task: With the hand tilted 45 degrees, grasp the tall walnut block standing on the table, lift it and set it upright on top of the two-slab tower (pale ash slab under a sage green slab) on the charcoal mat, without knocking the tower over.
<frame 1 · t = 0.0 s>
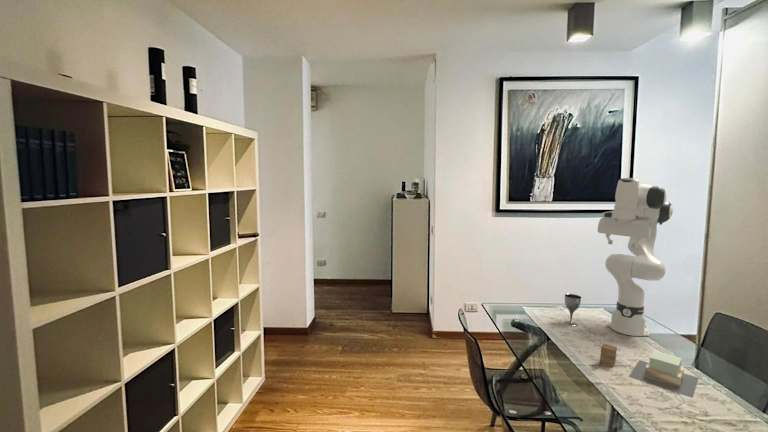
hand: (621, 245, 176), 48 cm above the table, fingers open, 8 cm apart
tower top: (664, 367, 155), point 5 cm above the table, touching tower base
wine glass: (570, 323, 211), on the table
tower base: (663, 377, 155), point 1 cm above the table, touching mat, tower top
mat: (663, 379, 155), on the table
walnut block: (607, 364, 166), on the table
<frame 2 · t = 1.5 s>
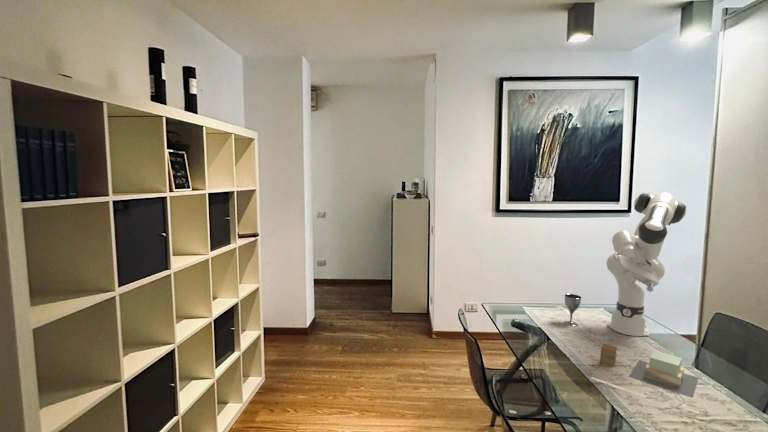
hand: (641, 286, 160), 35 cm above the table, fingers open, 8 cm apart
nothing on the table moved.
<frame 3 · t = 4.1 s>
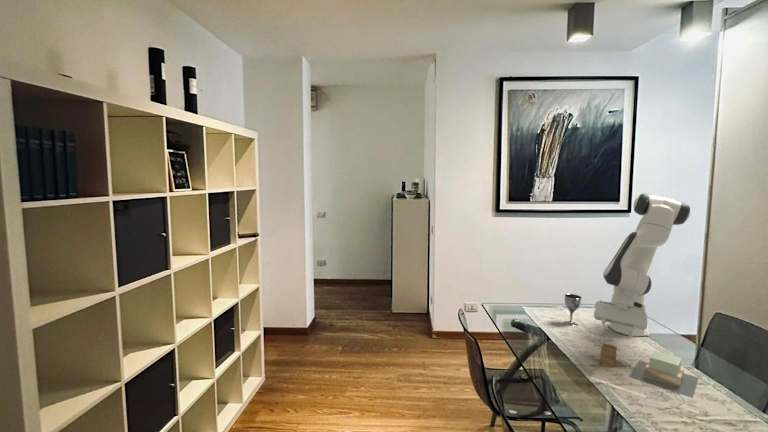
hand: (617, 332, 170), 12 cm above the table, fingers open, 8 cm apart
nothing on the table moved.
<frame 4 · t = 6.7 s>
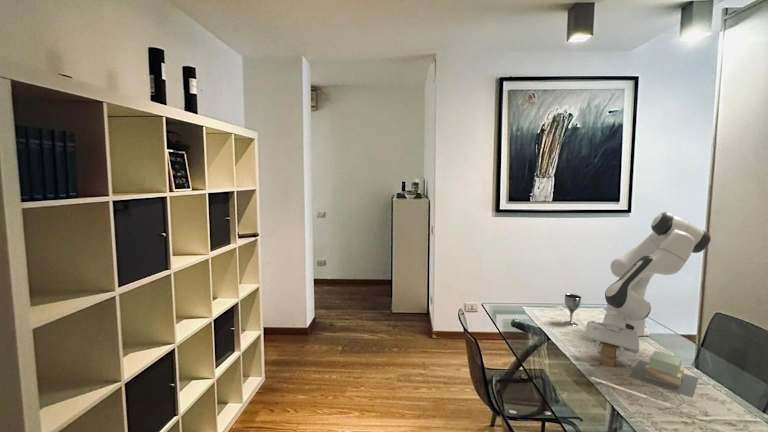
hand: (608, 355, 165), 4 cm above the table, fingers closed on walnut block, 5 cm apart
walnut block: (607, 364, 166), on the table, touching gripper
everything else where it was.
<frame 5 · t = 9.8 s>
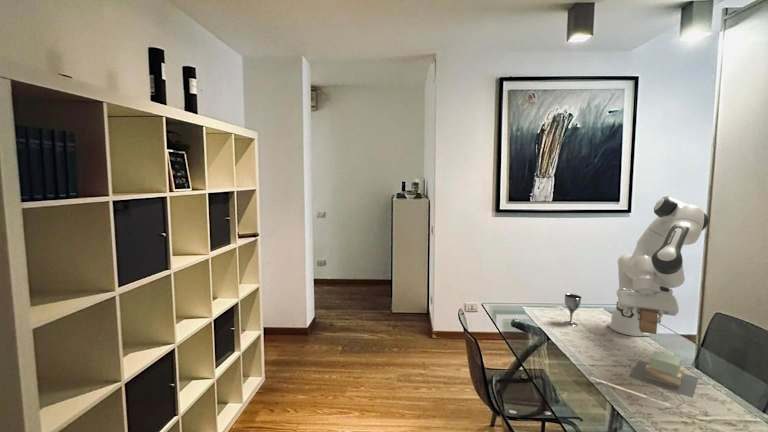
hand: (648, 320, 154), 23 cm above the table, fingers closed on walnut block, 5 cm apart
walnut block: (647, 331, 155), point 18 cm above the table, touching gripper
everything else where it was.
when the fingers open (15 cm above the table, at t = 12.7 s): walnut block drops 2 cm, resting on tower top.
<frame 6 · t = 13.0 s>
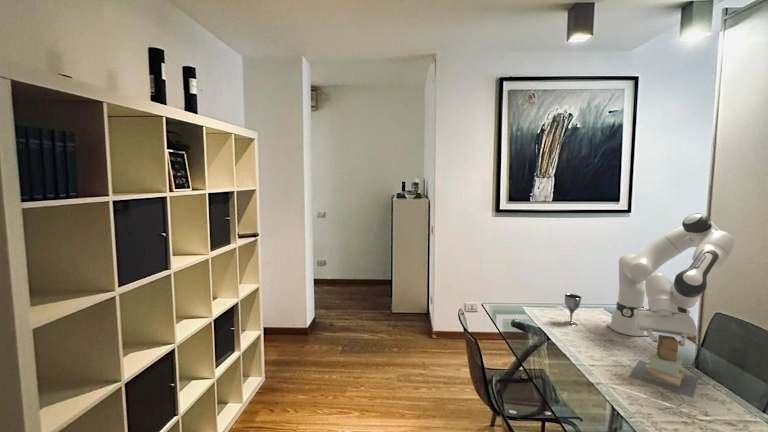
hand: (668, 343, 153), 15 cm above the table, fingers open, 8 cm apart
tower top: (664, 367, 155), point 5 cm above the table, touching tower base, walnut block
walnut block: (666, 357, 154), point 9 cm above the table, touching tower top
everything else where it was.
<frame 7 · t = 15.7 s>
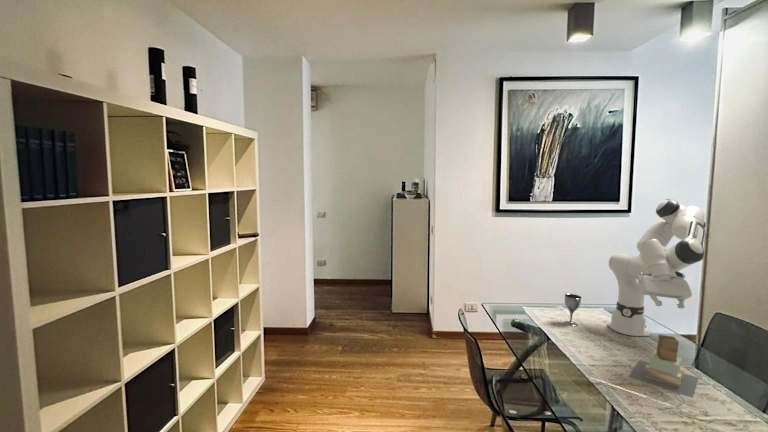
hand: (670, 306, 158), 27 cm above the table, fingers open, 8 cm apart
nothing on the table moved.
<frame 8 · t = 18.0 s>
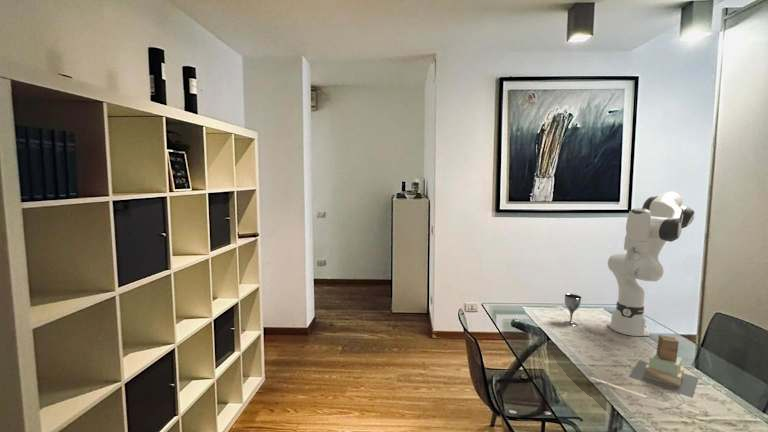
hand: (632, 278, 171), 35 cm above the table, fingers open, 8 cm apart
nothing on the table moved.
at the end: walnut block 0.1 cm off-centre on the tower top, point 4.0 cm above the tower top's base; walnut block tilted 0°; tower top 0.0 cm off-centre on the tower base, point 4.0 cm above the tower base's base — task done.
